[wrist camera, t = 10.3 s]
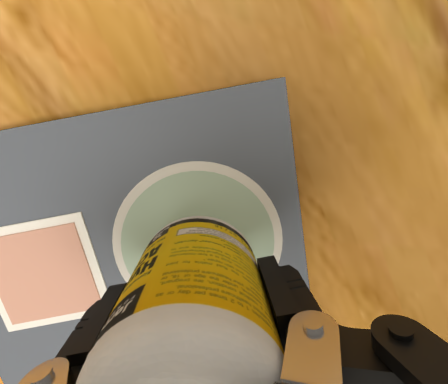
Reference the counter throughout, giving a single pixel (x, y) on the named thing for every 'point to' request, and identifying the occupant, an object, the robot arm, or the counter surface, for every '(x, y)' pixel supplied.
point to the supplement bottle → (190, 314)
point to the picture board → (133, 201)
